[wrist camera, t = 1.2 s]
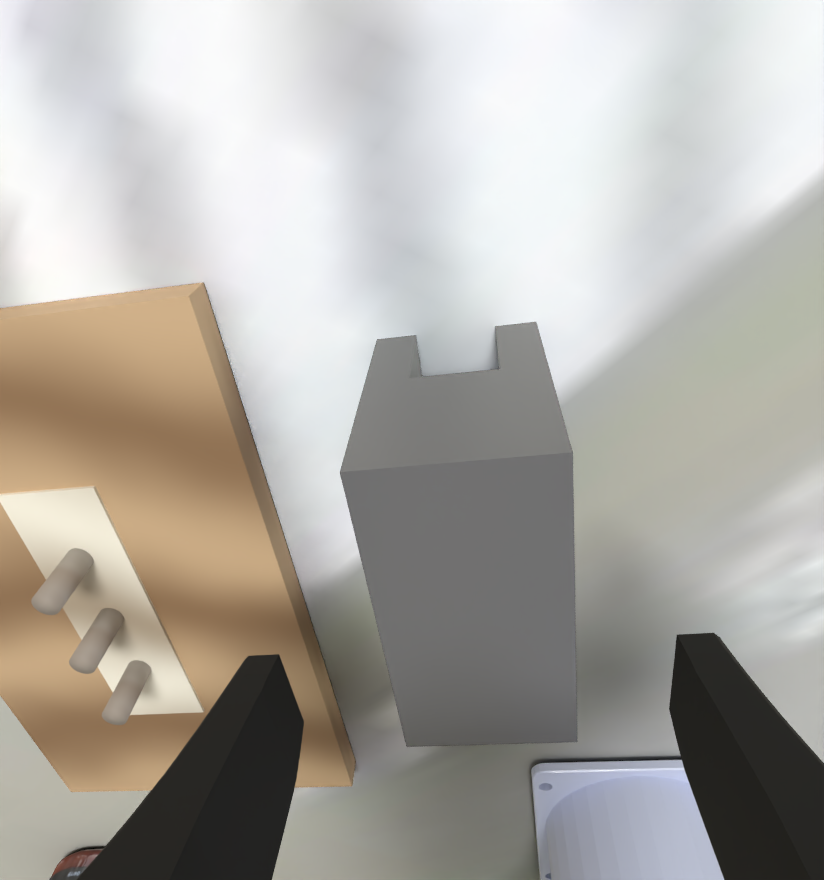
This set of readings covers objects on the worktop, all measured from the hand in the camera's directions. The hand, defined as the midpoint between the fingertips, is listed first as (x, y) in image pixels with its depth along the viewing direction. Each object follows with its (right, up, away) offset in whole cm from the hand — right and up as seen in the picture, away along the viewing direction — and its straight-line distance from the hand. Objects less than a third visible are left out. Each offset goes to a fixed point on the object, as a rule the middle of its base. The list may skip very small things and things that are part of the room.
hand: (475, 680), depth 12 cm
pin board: (-11, -1, +10) cm, 15 cm away
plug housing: (+1, +4, +6) cm, 7 cm away
